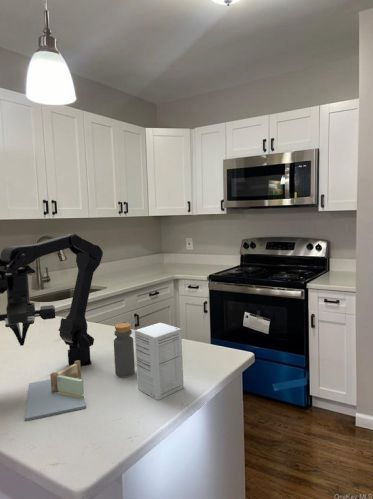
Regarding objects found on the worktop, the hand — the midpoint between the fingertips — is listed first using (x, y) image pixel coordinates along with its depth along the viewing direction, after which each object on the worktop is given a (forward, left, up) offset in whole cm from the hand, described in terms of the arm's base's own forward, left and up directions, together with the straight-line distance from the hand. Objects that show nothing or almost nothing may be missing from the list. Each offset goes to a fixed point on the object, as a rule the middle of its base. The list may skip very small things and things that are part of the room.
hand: (22, 345), depth 102 cm
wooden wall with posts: (-11, +5, -12) cm, 17 cm away
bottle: (-28, +4, -12) cm, 31 cm away
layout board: (-8, +10, -12) cm, 18 cm away
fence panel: (-12, +12, -11) cm, 20 cm away
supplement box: (-35, +18, -12) cm, 41 cm away
